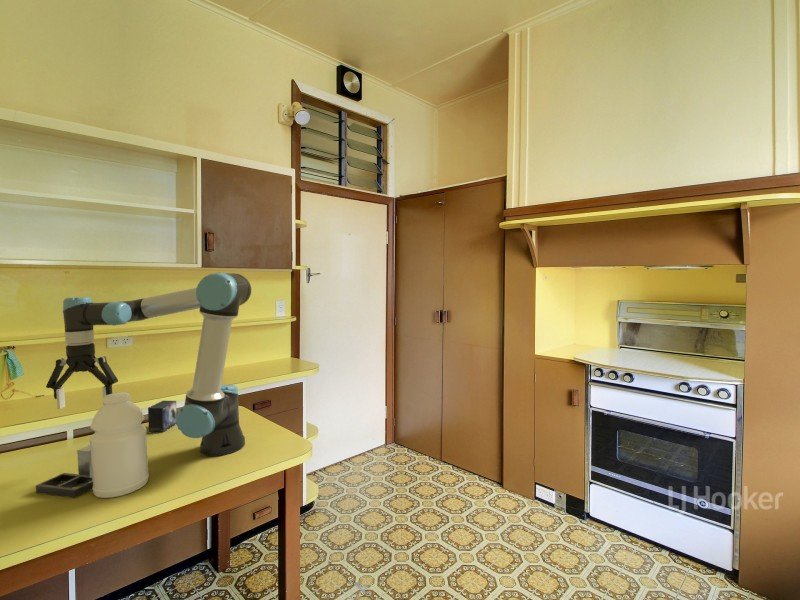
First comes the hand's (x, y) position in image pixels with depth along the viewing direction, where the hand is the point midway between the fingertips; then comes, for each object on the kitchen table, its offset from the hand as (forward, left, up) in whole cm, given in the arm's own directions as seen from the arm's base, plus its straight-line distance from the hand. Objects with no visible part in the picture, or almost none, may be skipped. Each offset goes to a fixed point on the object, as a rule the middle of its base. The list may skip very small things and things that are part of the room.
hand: (84, 406), depth 135 cm
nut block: (-8, +5, -20) cm, 22 cm away
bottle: (-24, +9, -21) cm, 33 cm away
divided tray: (-9, +13, -20) cm, 26 cm away
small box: (+3, -34, -21) cm, 40 cm away
